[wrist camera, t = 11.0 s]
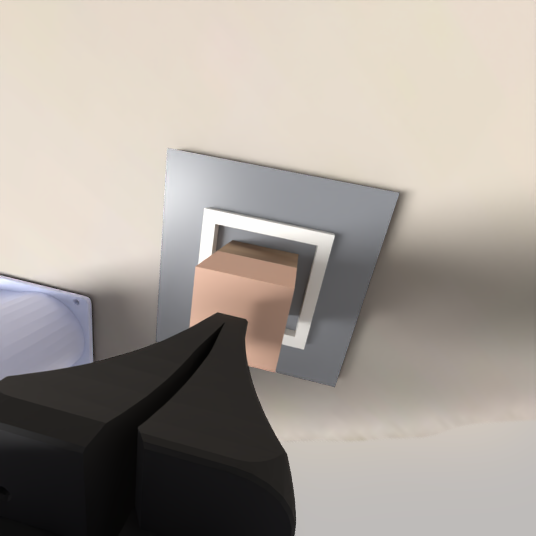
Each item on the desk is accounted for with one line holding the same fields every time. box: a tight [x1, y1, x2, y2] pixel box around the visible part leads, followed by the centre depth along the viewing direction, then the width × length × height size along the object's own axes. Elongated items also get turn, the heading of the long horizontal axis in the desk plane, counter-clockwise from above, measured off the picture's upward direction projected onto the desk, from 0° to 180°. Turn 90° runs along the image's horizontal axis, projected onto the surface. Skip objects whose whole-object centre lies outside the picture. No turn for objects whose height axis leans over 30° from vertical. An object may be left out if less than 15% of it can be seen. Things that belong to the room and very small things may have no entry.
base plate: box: [156, 148, 399, 387], centre depth 18 cm, size 14×14×2 cm
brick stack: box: [189, 240, 298, 372], centre depth 15 cm, size 4×4×6 cm
